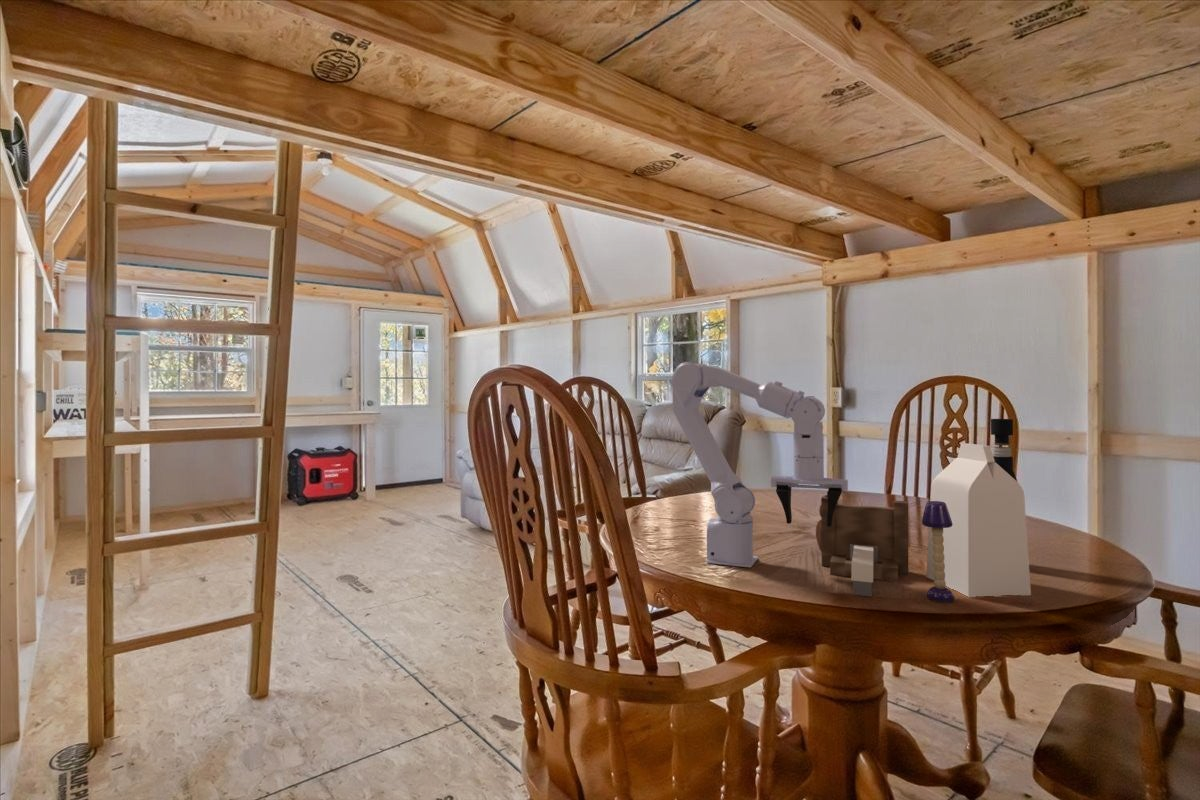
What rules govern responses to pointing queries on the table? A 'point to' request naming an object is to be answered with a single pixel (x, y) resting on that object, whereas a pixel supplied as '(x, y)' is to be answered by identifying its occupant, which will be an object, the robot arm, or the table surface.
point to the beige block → (862, 568)
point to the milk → (982, 526)
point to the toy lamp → (938, 548)
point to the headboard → (866, 537)
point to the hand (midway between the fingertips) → (809, 524)
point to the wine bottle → (1003, 454)
